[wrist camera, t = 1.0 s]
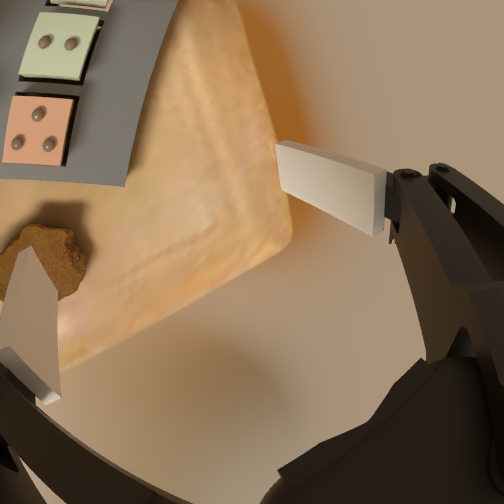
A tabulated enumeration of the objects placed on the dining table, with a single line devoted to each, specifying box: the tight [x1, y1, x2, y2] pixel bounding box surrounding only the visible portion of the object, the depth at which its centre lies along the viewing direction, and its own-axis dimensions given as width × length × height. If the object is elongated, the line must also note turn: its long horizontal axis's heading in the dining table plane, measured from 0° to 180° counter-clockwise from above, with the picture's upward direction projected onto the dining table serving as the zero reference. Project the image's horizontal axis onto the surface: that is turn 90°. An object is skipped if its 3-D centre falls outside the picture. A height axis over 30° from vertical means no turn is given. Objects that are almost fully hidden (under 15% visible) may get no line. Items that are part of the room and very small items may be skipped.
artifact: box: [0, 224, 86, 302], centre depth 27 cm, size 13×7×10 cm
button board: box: [0, 0, 179, 187], centre depth 19 cm, size 20×26×2 cm
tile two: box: [18, 12, 100, 81], centre depth 17 cm, size 6×6×3 cm
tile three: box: [2, 96, 74, 166], centre depth 20 cm, size 6×6×3 cm
